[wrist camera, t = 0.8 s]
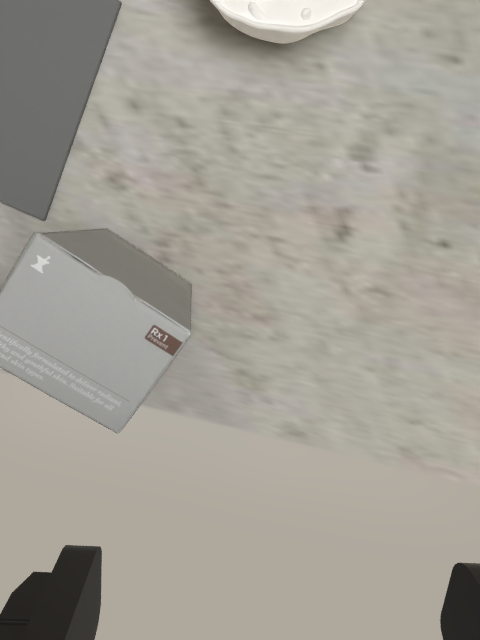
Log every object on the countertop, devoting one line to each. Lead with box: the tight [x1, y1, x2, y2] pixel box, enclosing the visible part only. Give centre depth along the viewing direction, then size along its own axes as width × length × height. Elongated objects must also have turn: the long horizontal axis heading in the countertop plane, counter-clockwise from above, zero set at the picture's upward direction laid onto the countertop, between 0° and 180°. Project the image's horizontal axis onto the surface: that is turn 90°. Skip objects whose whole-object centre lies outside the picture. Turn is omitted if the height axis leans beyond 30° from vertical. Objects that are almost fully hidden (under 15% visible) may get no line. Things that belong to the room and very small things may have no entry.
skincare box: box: [0, 229, 192, 433], centre depth 27 cm, size 8×7×16 cm
